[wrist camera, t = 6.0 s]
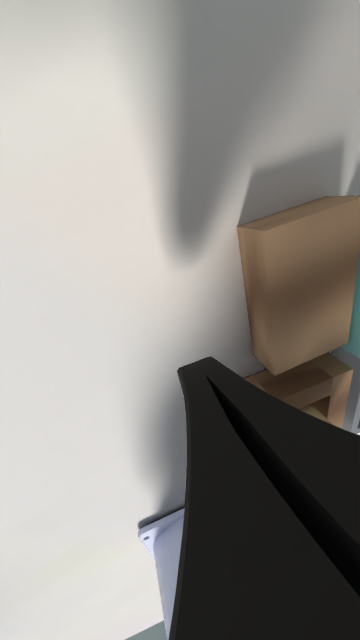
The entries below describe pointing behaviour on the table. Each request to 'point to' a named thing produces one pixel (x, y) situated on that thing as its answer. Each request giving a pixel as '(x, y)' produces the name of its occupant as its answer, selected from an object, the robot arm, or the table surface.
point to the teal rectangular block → (355, 320)
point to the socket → (311, 386)
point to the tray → (351, 391)
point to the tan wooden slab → (301, 279)
